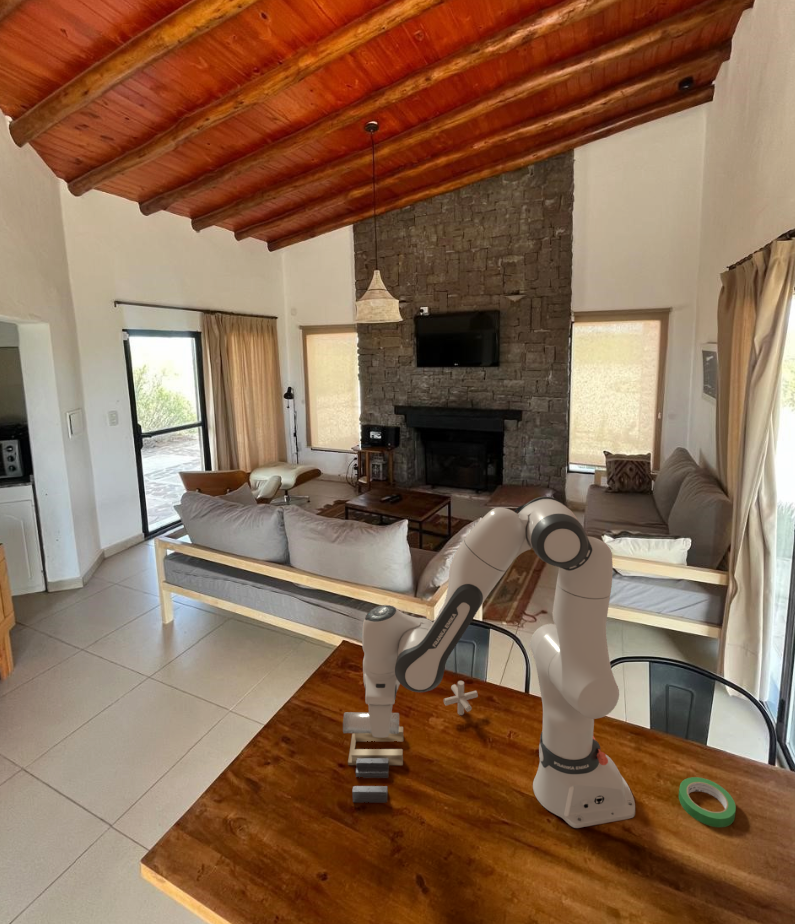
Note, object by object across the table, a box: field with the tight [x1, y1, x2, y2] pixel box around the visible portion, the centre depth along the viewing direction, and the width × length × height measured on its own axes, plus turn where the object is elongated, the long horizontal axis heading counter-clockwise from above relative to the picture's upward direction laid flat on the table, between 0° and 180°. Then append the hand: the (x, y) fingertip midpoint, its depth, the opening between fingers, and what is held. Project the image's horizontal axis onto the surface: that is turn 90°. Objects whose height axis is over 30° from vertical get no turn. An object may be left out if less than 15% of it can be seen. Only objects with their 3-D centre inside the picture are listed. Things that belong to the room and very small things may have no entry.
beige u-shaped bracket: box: [347, 726, 404, 766], centre depth 136 cm, size 14×10×3 cm
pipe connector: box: [443, 680, 479, 716], centre depth 148 cm, size 10×10×10 cm
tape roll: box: [678, 776, 737, 828], centre depth 118 cm, size 11×11×3 cm
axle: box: [342, 711, 400, 734], centre depth 122 cm, size 13×4×4 cm, turn 88°
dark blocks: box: [351, 758, 390, 804], centre depth 126 cm, size 8×10×3 cm
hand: (383, 725), depth 122 cm, fingers closed on axle, 4 cm apart
